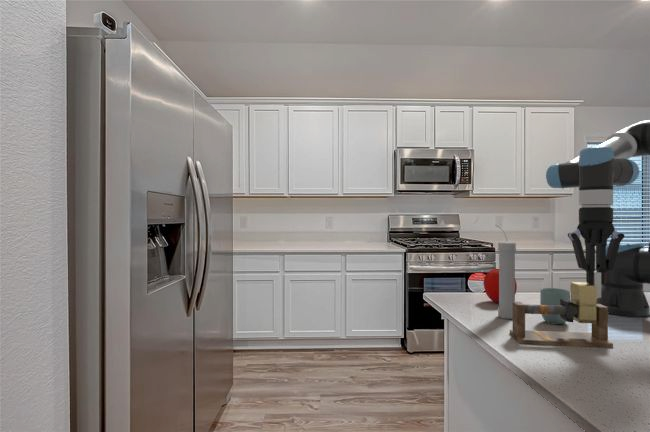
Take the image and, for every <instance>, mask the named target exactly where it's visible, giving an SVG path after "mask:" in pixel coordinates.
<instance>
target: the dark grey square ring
mask: <svg viewBox="0 0 650 432" xmlns="http://www.w3.org/2000/svg"><path fill="white" fill-rule="evenodd" d="M560 305H561V306H567V315H560V317H561V318H562V319H564V320H566V321H567V322H568V323H574V320H573V303H572V302H570V301H568V300H566V299H560ZM567 322H566V323H567Z"/></svg>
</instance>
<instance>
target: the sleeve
mask: <svg viewBox="0 0 650 432" xmlns="http://www.w3.org/2000/svg"><path fill="white" fill-rule="evenodd" d="M569 291H570V302H572V303H573V306H578V315H573V321H575V322H577V323H579V324H592V323H595V324H596V285H593V284H588V283H587V282H586V281H585V282H582V281H581V282H580V281H570V289H569Z"/></svg>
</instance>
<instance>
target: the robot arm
mask: <svg viewBox="0 0 650 432" xmlns="http://www.w3.org/2000/svg"><path fill="white" fill-rule="evenodd" d="M578 153H579V155H577V157H573V158H572V159H571V160H568V161H566V162H563V163H560V162H559V163H555V164H551V165H550V166H549V167H547V170H546V173H545V178H546V183H547V185H548V186H549V187H550V188H552V189H562V190H563V189H572V188H573V189H574V188H578V205H579V206H581V207H579V208H578V225H577V227H576V230H574V231H572V232H569V233H567V237H568V239H569V240H570V242H571V243H572V247H573V251H574V254H575V255H574V256H575V260H576V262H577V266H578V267H577V268H578V269H582V270H584V271H585V275H586V278H585V279H586V280H585V282H587V283H588V284H593V285H596V304H601V305H603V306H606V307H608V315H609V314H610V315H616V316H626V317H647V316H650V305H649V301H648V300H647V297H646V294H645V292H644V284H646V285H650V241H649V242H648V247H645V245H644V244H643V243H642V242H636V243H634V242H633V243H621V242H622V241H623V240H624V238H625V234H624V233H621V232H619V231H617V230H616V229H615V228H616V227H615V226H614V224H613V222H614V208H613V207H611V206H613V205H614V186H616V187H623V186H628V185H631V184H633V183H635V181H637V179H638V178H639V174H640V167H639V165H638V164H637V163H636V161H634V160H632V159H630V158H634V157H644V156H645V157H646V156H650V119H648V120H642V121H639V122H636V123H633V124H631V125H628V126H626V127H624V128H621V129H620V130H618V131H616V132H614V133H612V134H611V135H609V136H608V137H607V138H606V139H605V141H604V142H602V143H600V144H598V145H596V146H591V147H590V146H589V147H585V148H583V149H581V150H580V151H579V152H578ZM581 237H582V238H583V240H584V245H585V246H584V247H585V250H584V247H583V244H582V241H581ZM609 238H610V240H609V244H608V239H609Z"/></svg>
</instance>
